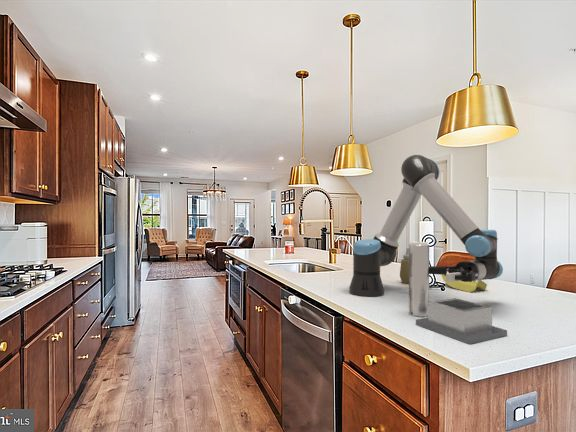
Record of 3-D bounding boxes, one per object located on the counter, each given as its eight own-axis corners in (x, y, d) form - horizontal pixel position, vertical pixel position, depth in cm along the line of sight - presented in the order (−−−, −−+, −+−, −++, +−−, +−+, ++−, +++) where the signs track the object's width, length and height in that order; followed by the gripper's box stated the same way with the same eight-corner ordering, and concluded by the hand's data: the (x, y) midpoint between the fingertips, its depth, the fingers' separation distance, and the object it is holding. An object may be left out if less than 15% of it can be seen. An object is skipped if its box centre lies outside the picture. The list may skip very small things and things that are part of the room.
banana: (489, 285, 155) (478, 278, 150) (483, 300, 153) (472, 293, 149) (450, 276, 172) (439, 268, 167) (445, 289, 171) (434, 282, 166)
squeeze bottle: (416, 282, 173) (416, 248, 173) (415, 285, 166) (415, 249, 166) (400, 281, 176) (400, 247, 177) (398, 283, 169) (399, 248, 169)
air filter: (430, 317, 110) (431, 242, 111) (410, 316, 112) (410, 242, 112) (426, 312, 117) (427, 241, 117) (407, 311, 118) (407, 240, 118)
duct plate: (415, 324, 103) (415, 300, 103) (451, 318, 110) (451, 295, 110) (469, 344, 86) (469, 315, 86) (507, 335, 93) (507, 309, 93)
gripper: (503, 287, 114) (462, 292, 104) (441, 275, 136) (402, 279, 127) (503, 265, 114) (462, 268, 104) (441, 257, 136) (403, 259, 127)
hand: (429, 274), depth 116 cm, fingers open, 13 cm apart
